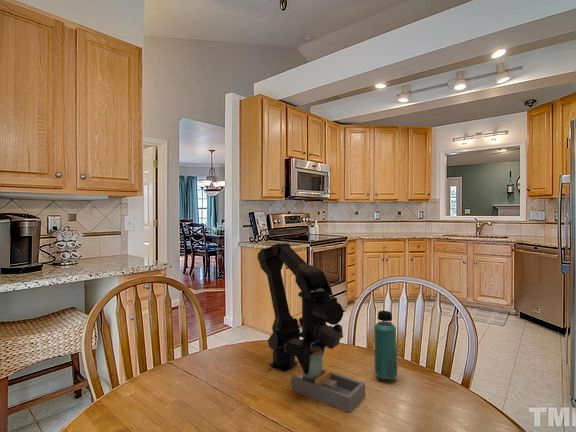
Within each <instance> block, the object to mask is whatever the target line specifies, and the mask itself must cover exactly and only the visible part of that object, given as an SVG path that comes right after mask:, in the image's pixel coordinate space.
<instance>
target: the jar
mask: <svg viewBox="0 0 576 432" xmlns="http://www.w3.org/2000/svg"><path fill="white" fill-rule="evenodd" d="M311 351H312V352H314V353H313V354H312V355H311V356H310V364H309V373H308V374H305V373H304V371H303V370H302V375H303V379H304V380H307V381H310V382H315V379H316V378H318V377H319V376H320V375H322V374H323V370H324V369H323V357H322V348H321V347H319V346H315V345H311Z"/></svg>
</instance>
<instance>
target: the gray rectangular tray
mask: <svg viewBox="0 0 576 432" xmlns="http://www.w3.org/2000/svg"><path fill="white" fill-rule="evenodd" d="M326 371H327V370H326V369H323V373H324V372H326ZM330 372H331V380H334V381H337V390H332V389H329V388H326V387H324V386H321V385H318V384H315V382H310V381H307V380H304V379H303V374H301V375H300V376H299V377H298V376H295V375H292V376H291V377H290V390H291V391H293V392H296V393H298V394H300V395H303V396H306V397H309V398H310V399H313V400H316V401H318V402H320V403H324V404H326V405H329V406H331V407H334V408H336V409H339V410H342V411H344V412H347V413H349V414H351V412H352V411H353V410H354V409H356V407H357V406H358V405H359V404H360V402H361V401H362V400H363V399H365V397H366V382H363V381H360V380H357V379H355V378H351V377H348V376H344V375H343V374H342V375H341V374H339V373H335V372H332V371H330Z"/></svg>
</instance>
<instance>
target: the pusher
mask: <svg viewBox="0 0 576 432" xmlns="http://www.w3.org/2000/svg"><path fill="white" fill-rule="evenodd" d="M331 372H332V371H330V370H326V372H324V373H323V374H322V375H320V376H319V377H318V378H316V379H315V384H318V385H321V386H324V387H326V388H329V389H332V390H337V381H334V380H331Z"/></svg>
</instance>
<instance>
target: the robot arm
mask: <svg viewBox="0 0 576 432" xmlns="http://www.w3.org/2000/svg"><path fill="white" fill-rule="evenodd" d="M257 261H258V262H259V265H260V269H261V270H262V271H263V272H264V273H265V275H266V277H267V282H268V287H269V293H270V298H271V301H272V302H271V303H272V307H273V313H274V317H275V318H274V321H273V323H272V326H271V327H272V334H271V335H270V337H269V338H268V339H267V343H268V347H269V348H270V349H271V350H272V359H273V360H272V363H270V364H269V366H270V368H275V369H278V370H280V371H283V372H287V371H288V370H290V369H291V368H293V367H295V366H296V365H297V362H296V359H297V361H298V362H299V365H300V367H301V370H302V372H303V371H304V373H305V374H308V373H309V364H310V356H311V355H312V354H313V353H314V352H312V351H311V345H315V346H319V347H321V348H322V358H323V357H324V353H325V349H326V348H328V349H330V350H332V349H334V348H335V347H337V346H339V344H340V342H341V341H340V340H341V339H343V337H344V335H343V325H341V324H339V323H340V322H341V321H342V319H343V316H344V308H343V306H342V304H341V303H339V302H338V298H337V297H336V296H334V293H333V291H332V288H331V286H330V284H329V281H328V279H327V277H326V275H325V272H324V271H323V270H321V269H320V268H318V267H317V266H316V265H315V266H314V265H311V264H308V263H307V262H306V261H305V260H304V259H303V258H302V257H301V256H300V255H299V254H298V253H297V252H296V251H295V250H294V249H293V248H292V247H291V245H290V243H288V242H284V243H283V242H282V243H276V244H273V245H272V246H269V247H266V248H261V249H260V251H258V253H257ZM284 265H285V266H286V268H288V269H289V270H290V271H291V273H292V274H293V275H294V276H295V283H296V285H297V286H298V288H299V289H300V292H299V293H297V294H298V295H297V296H298V297H300V298H301V317H299V318H298V319H297V317H296V318H294V317H293V316H292V315H291V313H290V308H289V304H288V299H287V294H286V288H285V285H284V280H283V275H282V269H283V266H284ZM299 323H301V329H300V327H299ZM327 324H328V325H327ZM329 324H330V325H329ZM300 338H302V339H300Z"/></svg>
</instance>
